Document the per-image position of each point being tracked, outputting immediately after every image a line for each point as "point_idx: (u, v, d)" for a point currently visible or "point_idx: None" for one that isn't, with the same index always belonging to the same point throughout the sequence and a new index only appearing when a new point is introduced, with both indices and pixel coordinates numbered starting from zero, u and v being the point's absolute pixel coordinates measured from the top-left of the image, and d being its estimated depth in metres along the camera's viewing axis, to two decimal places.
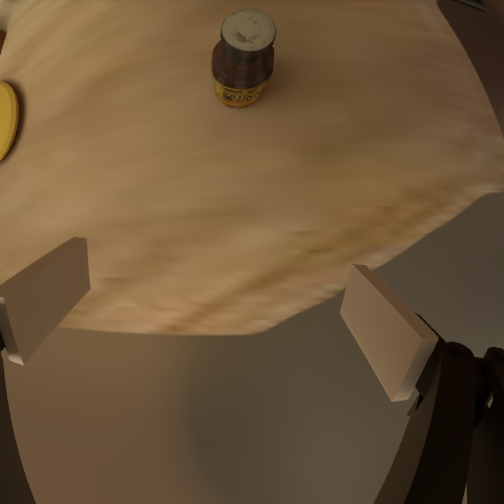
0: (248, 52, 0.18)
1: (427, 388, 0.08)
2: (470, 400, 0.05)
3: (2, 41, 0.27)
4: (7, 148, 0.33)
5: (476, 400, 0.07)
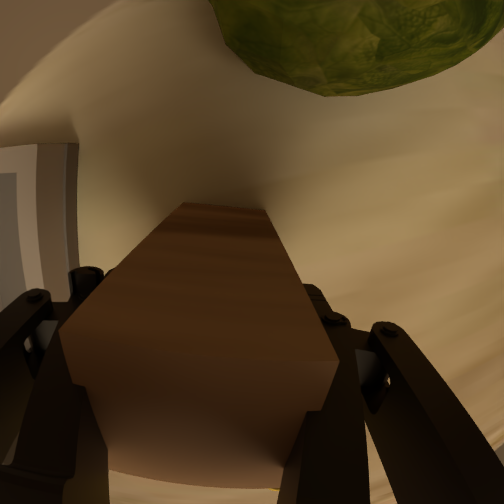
0: None
1: None
2: (352, 370, 0.06)
3: None
4: None
5: (362, 376, 0.08)
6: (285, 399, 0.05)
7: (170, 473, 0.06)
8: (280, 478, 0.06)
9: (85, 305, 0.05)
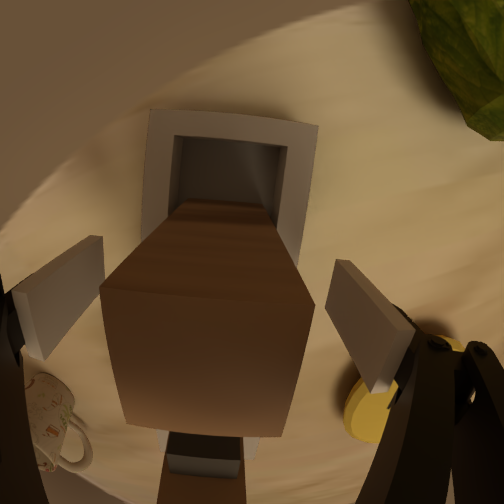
0: None
1: (405, 381, 0.08)
2: (450, 393, 0.05)
3: None
4: None
5: (456, 394, 0.07)
6: (275, 339, 0.07)
7: (182, 421, 0.08)
8: (276, 425, 0.08)
9: (118, 271, 0.07)
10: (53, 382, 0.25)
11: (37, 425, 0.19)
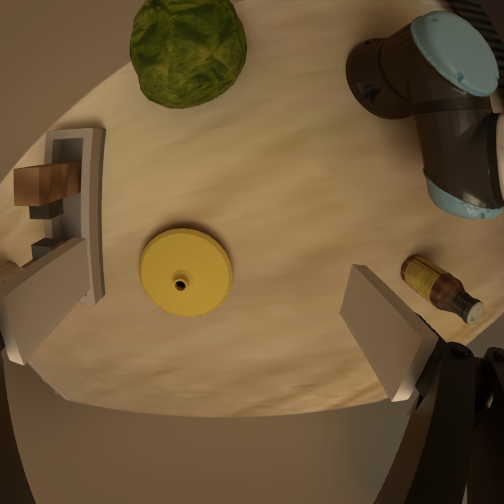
0: (471, 324, 0.35)
1: (427, 388, 0.08)
2: (470, 400, 0.05)
3: None
4: (219, 303, 0.50)
5: (476, 400, 0.07)
6: (34, 175, 0.29)
7: (23, 201, 0.30)
8: (37, 200, 0.30)
9: (18, 168, 0.29)
10: (14, 265, 0.47)
11: None
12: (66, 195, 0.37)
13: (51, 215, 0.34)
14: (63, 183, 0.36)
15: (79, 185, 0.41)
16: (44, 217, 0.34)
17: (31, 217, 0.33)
